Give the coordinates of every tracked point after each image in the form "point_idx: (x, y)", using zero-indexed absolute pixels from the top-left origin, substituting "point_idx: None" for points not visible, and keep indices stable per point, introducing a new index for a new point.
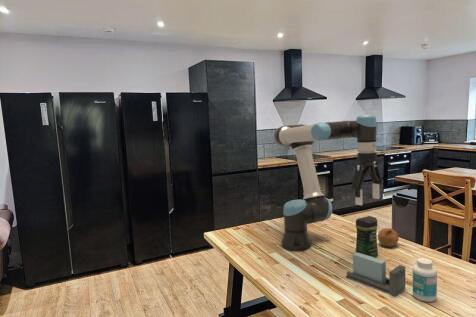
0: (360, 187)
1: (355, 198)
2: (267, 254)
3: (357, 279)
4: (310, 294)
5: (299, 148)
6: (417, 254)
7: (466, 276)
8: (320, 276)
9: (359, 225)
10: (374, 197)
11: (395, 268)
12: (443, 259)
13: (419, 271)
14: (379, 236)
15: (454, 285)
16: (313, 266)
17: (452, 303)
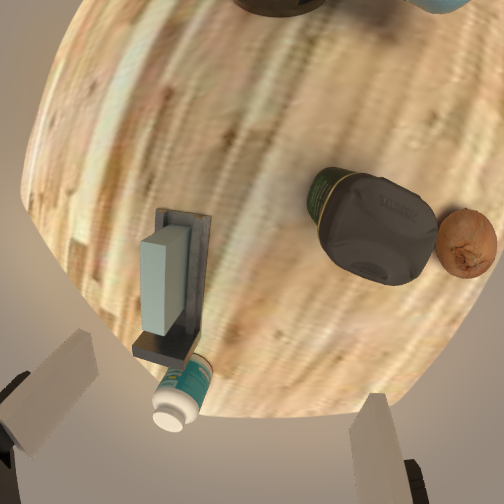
0: (3, 460)
1: (48, 357)
2: None
3: None
4: (60, 184)
5: None
6: (416, 320)
7: (330, 409)
8: (125, 151)
9: (327, 206)
10: (364, 411)
11: (158, 354)
12: (404, 369)
13: (152, 401)
14: (453, 222)
15: (276, 401)
16: (164, 99)
17: None
